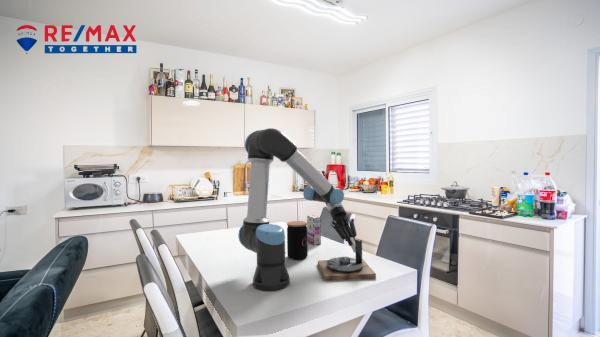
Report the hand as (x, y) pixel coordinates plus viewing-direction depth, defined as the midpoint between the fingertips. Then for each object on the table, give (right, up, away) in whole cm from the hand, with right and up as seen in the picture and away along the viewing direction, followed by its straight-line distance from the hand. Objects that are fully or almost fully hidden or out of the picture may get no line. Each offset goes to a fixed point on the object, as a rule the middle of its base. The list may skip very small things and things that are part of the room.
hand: (356, 250), depth 137 cm
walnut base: (-6, -8, -3) cm, 11 cm away
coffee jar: (-27, -9, +19) cm, 34 cm away
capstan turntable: (-6, -6, -3) cm, 9 cm away
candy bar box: (-17, -8, +46) cm, 50 cm away
